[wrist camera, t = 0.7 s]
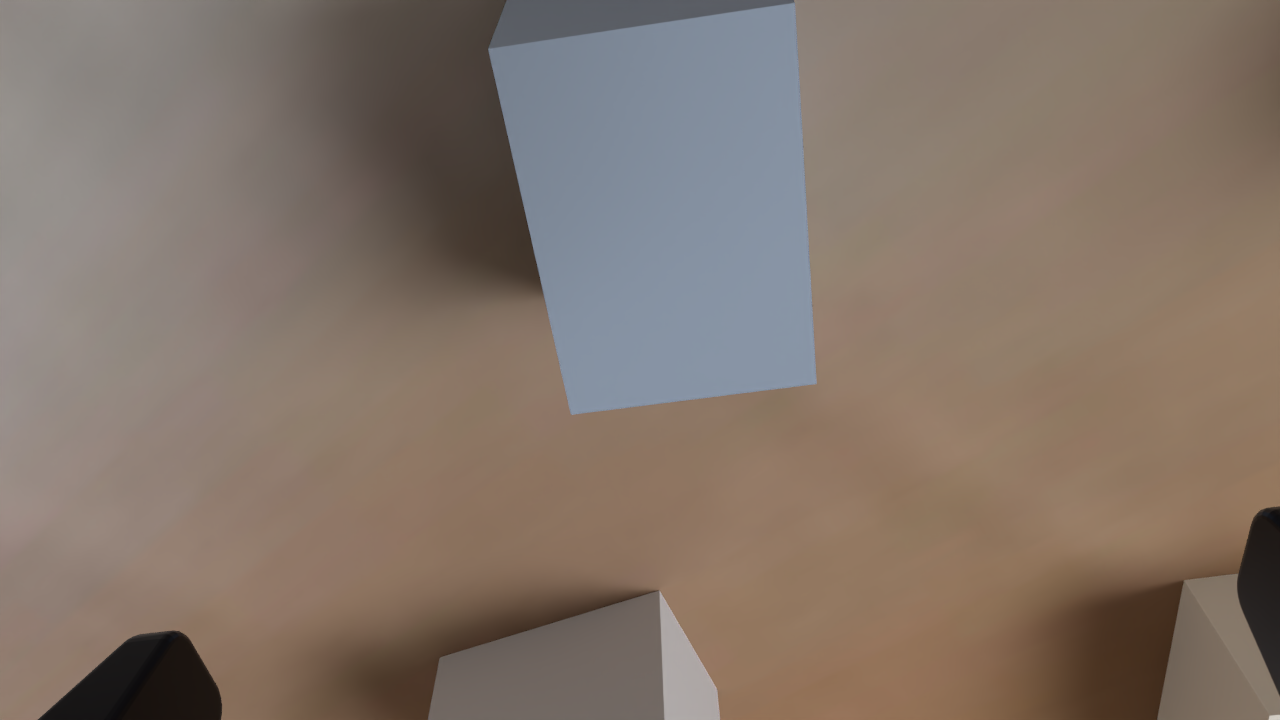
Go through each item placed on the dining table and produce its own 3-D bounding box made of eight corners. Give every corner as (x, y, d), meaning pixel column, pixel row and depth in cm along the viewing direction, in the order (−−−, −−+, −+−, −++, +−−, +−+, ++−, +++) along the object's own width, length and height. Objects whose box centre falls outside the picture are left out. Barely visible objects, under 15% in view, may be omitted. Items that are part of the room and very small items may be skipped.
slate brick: (515, -23, 16) (488, 49, 13) (759, -61, 16) (795, 2, 13) (579, 293, 20) (571, 414, 16) (782, 266, 19) (816, 384, 16)
